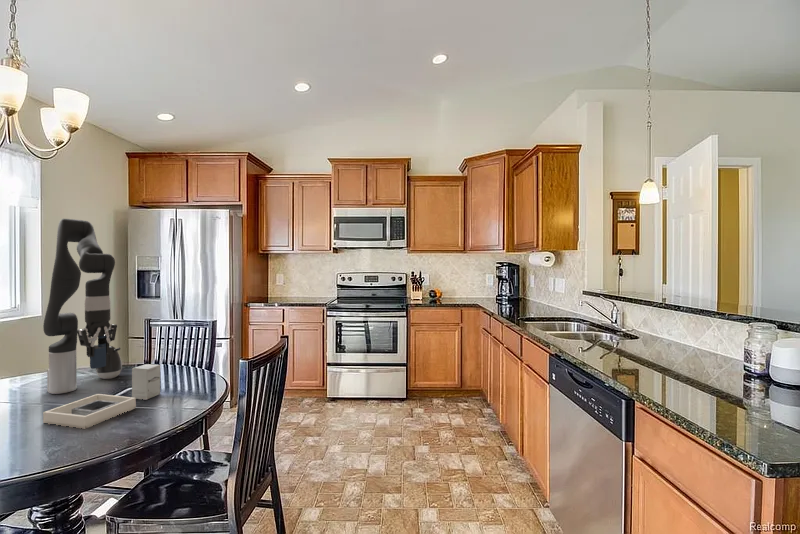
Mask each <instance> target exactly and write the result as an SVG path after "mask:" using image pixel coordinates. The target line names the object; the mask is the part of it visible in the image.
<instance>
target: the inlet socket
mask: <svg viewBox="0 0 800 534" xmlns="http://www.w3.org/2000/svg"><path fill="white" fill-rule="evenodd" d="M118 403H120V402H113V401H104V400H96V401H93V402H91V403H88V404H85V405H82V406H79V407H76V408H73V409H72V414H75V415H83V416H86V415H89V414H91V413H94V412H97V411H99V410H102V409H105V408H107V407H110V406H113V405H115V404H118ZM96 409H98V410H96ZM94 410H95V411H94Z"/></svg>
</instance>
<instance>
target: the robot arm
mask: <svg viewBox="0 0 800 534" xmlns="http://www.w3.org/2000/svg"><path fill="white" fill-rule="evenodd" d="M97 241H98V240H97V236H96V232H95V229H94V225H93V224H92V223H91V222H90V221H88V220H82V219H73V218H62V219H60V220H59V223H58V225H57V234H56V249H55V259H54V264H53V268H52V269H53V270H52V275H51V282H50V290H49V298H48V304H47V308H46V311H45V315H44V319H43V328H42V329H43V333H44V335H46V336H47V337H58V336H63V337H62V338H61V339H60V340H58V341H55V342H54V343H50V345H49V346H48V369H47V370H46V374H47V375H46V377H47V378H46V381H47V382H46V385H47V387H46V389H47V392H48V393H49V394H51V395H52V394H53V395H55V394H56V395H58V394H66V393H69V392H73V391H75V390H77V386H78V385H77V384H78V381H77V378H78V377H77V376H78V375H77V374H78V373H77V369H78V368H77V345H78V341H79V345H80V346H82V347H86V357H88V358H90V357H94V347H93V346H94V345H95V343H96V341H98V337H99V336H105V337H106V338H105V339H106V354H107V353H109V346H110V343H111V342H112V341H115V340H116V334H117V331H118V329H117V328H118V324H114V323H113V324H111V323H110V321H111V298H110V283H111V278H112V275H113V272H114V269H115V265H116V260H115V258H114V256H113V255H112V254H110V253H104V252H103V249H102V248H101V246H100V245H99V244H98V242H97ZM69 243H77V244H76V252H77V254H78V255H79V261H78V264H77V262H76V261H75V260H74V258H73V257H72V255H71V252H70V250H69V248H68V245H69ZM82 272H83V273H86V274H101V275H100V276H99V277H98V278H93V279H90V280H89V279H88V280H87V281H86V282H85V294H84V295H85V300H84V322H85V323H86V325H85V327H84V328H82V329H78V328H79V320H78V315H76V314H75V313H74V312H66V313H65V312H63V313H60V312H61V309H62V307H63V306H64V305H65V303H66V302H67V301H68V300H69V299H70V298H71V297H72V296H73V295H75V293H76V292H77V291H78V289H79V288H80V283H81V277H82Z"/></svg>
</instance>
